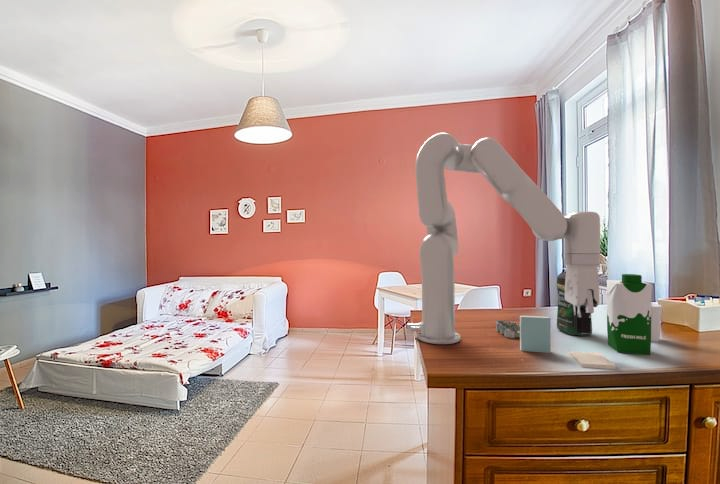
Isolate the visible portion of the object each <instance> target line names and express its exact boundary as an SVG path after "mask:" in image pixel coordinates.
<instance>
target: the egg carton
mask: <svg viewBox="0 0 720 484" xmlns="http://www.w3.org/2000/svg"><path fill="white" fill-rule="evenodd" d="M494 321H495V330H496V332H499V334H500V335H504V337H505V338H510V339H515V338H520V323H519V324H518V323H516V322H514V321H511V322H510V320H507V321H506V320H502V319H501V320H497V319H494Z"/></svg>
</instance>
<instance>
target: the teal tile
mask: <svg viewBox="0 0 720 484" xmlns="http://www.w3.org/2000/svg"><path fill="white" fill-rule="evenodd" d="M519 325H520V337H519V349H520V351H521V352H533V353H534V352H535V353H536V352H537V353H548V354H549V353H550V354H551V352H552V351H551V317H549V316H540V315H538V316H537V315H519Z"/></svg>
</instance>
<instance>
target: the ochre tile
mask: <svg viewBox="0 0 720 484" xmlns="http://www.w3.org/2000/svg"><path fill="white" fill-rule="evenodd" d="M567 355H569V357H571V359H572V360H573V361H575V363H576V364H578V366H580V368H593V369H594V368H595V369H603V370H604V369H605V370H606V369H607V370H617V365H616V364H615V363H613V362H612V361H611V360H610V359H608V358H607V357H605V356H604V355H602V354H601V353H600V352H591V351H574V350H573V351H572V350H567Z"/></svg>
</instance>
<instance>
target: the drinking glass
mask: <svg viewBox="0 0 720 484" xmlns="http://www.w3.org/2000/svg"><path fill="white" fill-rule="evenodd" d="M662 308H663V307H662V305H661V304H658V303H652V302H651V343H652V342H653V343H654V342H659V341H661V323H662V322H661V321H662V320H661V319H662Z"/></svg>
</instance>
